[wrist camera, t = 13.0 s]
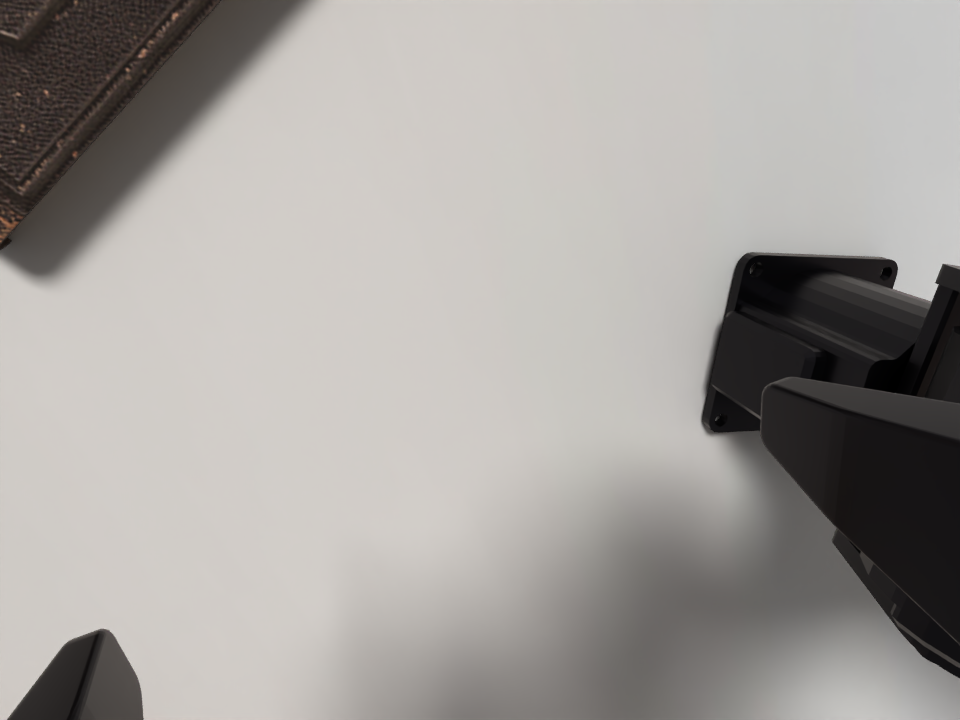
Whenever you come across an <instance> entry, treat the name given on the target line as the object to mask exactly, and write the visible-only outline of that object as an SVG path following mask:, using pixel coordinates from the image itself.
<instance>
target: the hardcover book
mask: <svg viewBox="0 0 960 720" xmlns="http://www.w3.org/2000/svg"><path fill="white" fill-rule="evenodd" d="M221 1H222V0H0V250H1V249H3V248H4V247H6V246H7V245H8V244H9V243H10V242H11V240H10V239H9V238H7V237H8V236H9V235H10V233H11V232H12V231H13V230H14V229H15V228H16V227H17V226H18V225H19V224H20V222H21V221H22V220H23V219H24V218H25V217H26V216H27V215H28V214H29V212H30V211H31V210H32V209H33V208H34V207H35V206H36V205H37V204H38V203H39V201H40V200H41V199H42V198H43V197H44V196H45V195H46V194H47V193H48V192H49V190H50V189H51V188H52V187H53V186H54V185H55V184H56V183H57V182H58V180H59V179H60V178H61V177H62V176H63V175H64V174H65V173H66V172H67V171H68V169H69V168H70V167H71V166H72V165H73V164H74V163H75V162H76V161H77V160H78V158H79V157H80V156H81V155H82V154H83V153H84V152H85V151H86V150H87V148H88V147H89V146H90V145H91V144H92V143H93V142H94V141H95V140H96V139H97V137H98V136H99V135H100V134H101V133H102V132H103V131H104V130H105V129H106V127H107V126H108V125H109V124H110V123H111V122H112V121H113V120H114V119H115V118H116V116H117V115H118V114H119V113H120V112H121V111H122V110H123V109H124V108H125V107H126V105H127V104H128V103H129V102H130V101H131V100H132V99H133V98H134V97H135V95H136V94H137V93H138V92H139V91H140V90H141V89H142V88H143V87H144V86H145V84H146V83H147V82H148V81H149V80H150V79H151V78H152V77H153V76H154V75H155V73H156V72H157V71H158V70H159V69H160V68H161V67H162V66H163V65H164V63H165V62H166V61H167V60H168V59H169V58H170V57H171V56H172V55H173V54H174V52H175V51H176V50H177V49H178V48H179V47H180V46H181V45H182V44H183V43H184V41H185V40H186V39H187V38H188V37H189V36H190V35H191V34H192V33H193V31H194V30H195V29H196V28H197V27H198V26H199V25H200V24H201V23H202V22H203V20H204V19H205V18H206V17H207V16H208V15H209V14H210V13H211V12H212V11H213V9H214V8H215V7H216V6H217V5H218V4H219V3H220V2H221Z"/></svg>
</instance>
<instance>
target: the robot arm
mask: <svg viewBox="0 0 960 720" xmlns="http://www.w3.org/2000/svg"><path fill="white" fill-rule="evenodd" d="M754 263H755V269H754V271H753V272H752V273H751V274H750V268H751V266H752V265H753V264H754ZM882 270H883V272H882V274H881V275H880V273H881V271H882ZM897 271H898V267H897V264H896V262H895V261H893V260H890V259H886V258H883V257H865V256H838V255H810V254H783V253H756V252H751V253H747V254H745V255H744V256H742V257H741V259H740V260H739V261H738V264H737V266H736V270H735V275H734V279H733V284H732V288H731V293H730V297H729V302H728V306H727V311H726V315H725V319H724V324H723V328H722V333H721V337H720V341H719V346H718V350H717V355H716V359H715V364H714V368H713V373H712V377H711V382H710V387H709V391H708V395H707V400H706V404H705V409H704V413H703V422H704V425H706V426H707V427H708V428H710V429H711V430H712V431H714V432H718V433H720V432H738V431H757V430H760V434H761V438H762V441H763V443H764V445H765V447H766V448H767V449H768V451H769V452H770V453H771V454H772V455H773V456H774V458H775V459H776V460H777V461H778V462H779V463H780V464H781V466H782V467H783V468H784V469H785V470H786V471H787V472H788V474H789V475H790V476H791V477H792V478H793V479H794V481H795V482H796V483H797V484H798V485H799V486H800V487H801V489H802V490H803V491H804V492H805V493H806V494H807V495H808V497H809V498H810V499H811V500H812V501H813V502H814V503H815V505H816V506H817V507H818V508H819V509H820V510H821V511H822V513H823V514H824V515H825V516H826V517H827V518H828V519H829V520H830V521H831V522H832V523H833V525H834V526H835V527H836V528H837V529H836V532H835V534H834V537H833V539H832V542H833V544H834V545H835V546H836V548H837V549H838V550H839V552H840V553H841V554H842V556H843V557H844V558H845V559H846V561H847V562H848V563H849V565H850V566H851V567H852V569H853V570H854V571H855V573H856V574H857V575H858V577H859V578H860V579H861V581H862V582H863V583H864V585H865V586H866V587H867V589H868V590H869V591H870V593H871V594H872V595H873V597H874V598H875V599H876V601H877V602H878V603H879V605H880V606H881V607H882V609H883V610H884V611H885V613H886V614H887V615H888V617H889V618H890V619H891V621H892V622H893V623H894V625H895V626H896V627H897V629H898V630H899V631H900V632H901V633H902V634H903V636H904V637H905V638H906V639H907V640H908V641H909V642H910V643H911V644H912V645H913V646H914V647H915V648H916V650H917V651H918V652H919V653H920V654H921V655H922V656H923V657H924V658H926V659H927V660H929V661H931V662H933V663H935V664H937V665H939V666H940V667H942V668H943V669H944V670H946V671H948V672H950V673H951V674H953V675H955V676H957V677H958V678H960V266H954V265H948V264H943V265H942V267H941V270H940V272H939V275H938V277H937V280H936V282H935V283H936V284H939V285H938V288H937V290H936V293H935V295H934V298H933V300H932V302H931V301H928V300H925V299H921V298H918V297H915V296H912V295H909V294H906V293H903V292H900V291H897V290H894V289H893V286H894V282H895V279H896V276H897ZM720 414H721V416H720V418H719V419H718V420H717V421H715V419H716V417H717V416H718V415H720ZM7 720H143V706H142V694H141V688H140V684H139V681H138V678H137V675H136V673H135V672H134V670H133V668H132V666H131V665H130V663H129V661H128V659H127V657H126V656H125V654H124V652H123V650H122V649H121V647H120V645H119V643H118V642H117V640H116V638H115V637H114V635H113V634H112V633H111V632H110V631H109V630H106V629H99V630H96V631H93V632H91V633H88V634H85V635H82V636H80V637H77V638H74V639H72V640H70V641H68V642H67V643H66V644H65V645H64V646H63V647H62V648H61V650H60V651H59V652H58V653H57V655H56V656H55V657H54V659H53V660H52V661H51V663H50V664H49V665H48V667H47V668H46V669H45V671H44V672H43V673H42V674H41V676H40V677H39V678H38V680H37V681H36V682H35V684H34V685H33V686H32V688H31V689H30V690H29V691H28V693H27V694H26V695H25V697H24V698H23V699H22V701H21V702H20V703H19V705H18V706H17V707H16V709H15V710H14V711H13V712H12V714H11V715H10V716H9V718H8V719H7Z"/></svg>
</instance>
